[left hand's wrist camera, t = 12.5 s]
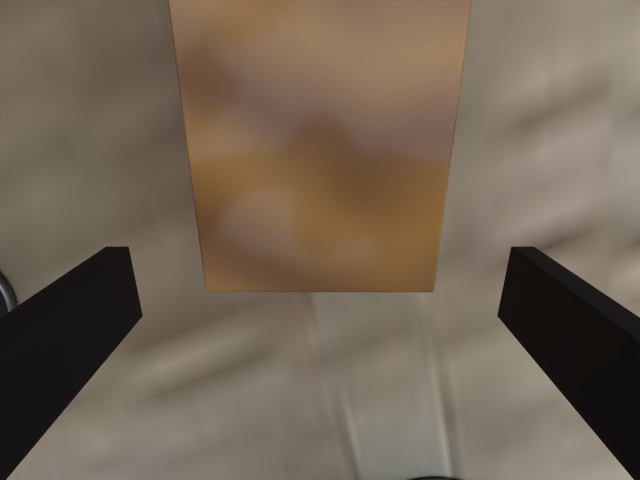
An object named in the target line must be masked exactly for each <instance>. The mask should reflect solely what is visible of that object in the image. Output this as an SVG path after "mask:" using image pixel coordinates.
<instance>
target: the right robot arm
mask: <svg viewBox="0 0 640 480" xmlns="http://www.w3.org/2000/svg"><path fill="white" fill-rule="evenodd" d="M14 308H16V302H15V299H14V296H13V293H12V291H11V289H10V287H9V285H8V284H7V282H6V281H5V280H4V278H3V277H2V276H1V275H0V318H1V317H2V316H4V315H5V314H7V313H8V312H10V311H11V310H13V309H14Z"/></svg>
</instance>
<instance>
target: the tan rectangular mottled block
mask: <svg viewBox="0 0 640 480" xmlns="http://www.w3.org/2000/svg"><path fill="white" fill-rule="evenodd" d="M471 2H472V0H168V4H169V12H170V19H171V27H172V35H173V42H174V50H175V58H176V65H177V73H178V81H179V88H180V96H181V104H182V111H183V119H184V127H185V134H186V142H187V150H188V158H189V165H190V173H191V181H192V188H193V196H194V204H195V211H196V219H197V227H198V234H199V242H200V250H201V257H202V265H203V273H204V280H205V288H206V291H207V292H433V289H434V281H435V274H436V266H437V259H438V251H439V244H440V236H441V228H442V221H443V213H444V206H445V198H446V191H447V183H448V176H449V168H450V161H451V153H452V145H453V138H454V130H455V123H456V115H457V108H458V100H459V93H460V85H461V78H462V70H463V62H464V55H465V47H466V40H467V32H468V25H469V17H470V10H471Z"/></svg>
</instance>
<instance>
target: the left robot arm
mask: <svg viewBox="0 0 640 480" xmlns="http://www.w3.org/2000/svg"><path fill="white" fill-rule="evenodd" d="M141 317H142V311H141V306H140V301H139V296H138V291H137V286H136V281H135V276H134V271H133V266H132V261H131V257H130V252H129V247H105V248H104V249H102V250H101V251H99V252H98V253H96V254H95V255H93V256H92V257H90V258H89V259H87V260H86V261H84V262H83V263H81V264H80V265H78V266H77V267H75V268H74V269H72V270H71V271H69V272H68V273H66V274H65V275H63V276H62V277H60V278H59V279H57V280H56V281H54V282H53V283H51V284H50V285H48V286H47V287H45V288H44V289H42V290H41V291H39V292H38V293H36V294H35V295H33V296H32V297H30V298H29V299H27V300H26V301H24V302H23V303H21V304H20V305H19V306H17V307H16V308H14V309H13V310H11V311H10V312H8V313H7V314H5V315H4V316H2V317H1V318H0V480H6V479H7V478H8V477H9V475H10V474H11V473H12V472H13V471H14V469H15V468H16V467H17V466H18V465H19V463H20V462H21V461H22V460H23V459H24V457H25V456H26V455H27V454H28V453H29V451H30V450H31V449H32V448H33V447H34V445H35V444H36V443H37V442H38V441H39V439H40V438H41V437H42V436H43V435H44V433H45V432H46V431H47V430H48V429H49V427H50V426H51V425H52V424H53V423H54V421H55V420H56V419H57V418H58V417H59V415H60V414H61V413H62V412H63V411H64V409H65V408H66V407H67V406H68V405H69V403H70V402H71V401H72V400H73V399H74V397H75V396H76V395H77V394H78V393H79V391H80V390H81V389H82V388H83V387H84V385H85V384H86V383H87V382H88V381H89V380H90V378H91V377H92V376H93V375H94V374H95V372H96V371H97V370H98V369H99V368H100V366H101V365H102V364H103V363H104V362H105V360H106V359H107V358H108V357H109V356H110V354H111V353H112V352H113V351H114V350H115V348H116V347H117V346H118V345H119V344H120V342H121V341H122V340H123V339H124V338H125V336H126V335H127V334H128V333H129V332H130V330H131V329H132V328H133V327H134V326H135V324H136V323H137V322H138V321H139V320H140V318H141ZM498 317H499V318H500V320H501V321H502V322H503V323H504V324H505V326H506V327H507V328H508V329H509V330H510V332H511V333H512V334H513V335H514V336H515V338H516V339H517V340H518V341H519V342H520V344H521V345H522V346H523V347H524V348H525V350H526V351H527V352H528V353H529V354H530V356H531V357H532V358H533V359H534V360H535V362H536V363H537V364H538V365H539V366H540V368H541V369H542V370H543V371H544V372H545V374H546V375H547V376H548V377H549V378H550V380H551V381H552V382H553V383H554V384H555V385H556V387H557V388H558V389H559V390H560V391H561V393H562V394H563V395H564V396H565V397H566V399H567V400H568V401H569V402H570V403H571V405H572V406H573V407H574V408H575V409H576V411H577V412H578V413H579V414H580V415H581V417H582V418H583V419H584V420H585V421H586V423H587V424H588V425H589V426H590V427H591V429H592V430H593V431H594V432H595V433H596V435H597V436H598V437H599V438H600V439H601V441H602V442H603V443H604V444H605V445H606V447H607V448H608V449H609V450H610V451H611V453H612V454H613V455H614V456H615V457H616V459H617V460H618V461H619V462H620V463H621V465H622V466H623V467H624V468H625V469H626V471H627V472H628V473H629V474H630V475H631V477H632V478H633V479H634V480H640V318H639V317H638V316H636V315H635V314H633V313H632V312H630V311H629V310H627V309H626V308H624V307H623V306H621V305H620V304H619V303H617V302H616V301H614V300H613V299H611V298H610V297H608V296H607V295H605V294H604V293H602V292H601V291H599V290H598V289H596V288H595V287H593V286H592V285H590V284H589V283H587V282H586V281H584V280H583V279H581V278H580V277H578V276H577V275H575V274H574V273H572V272H571V271H569V270H568V269H566V268H565V267H563V266H562V265H560V264H559V263H557V262H556V261H554V260H553V259H551V258H550V257H548V256H547V255H545V254H544V253H542V252H541V251H539V250H538V249H536V248H535V247H511V252H510V256H509V261H508V266H507V271H506V276H505V281H504V286H503V291H502V296H501V301H500V306H499V311H498ZM420 480H452V479H443V478H430V479H420Z"/></svg>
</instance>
